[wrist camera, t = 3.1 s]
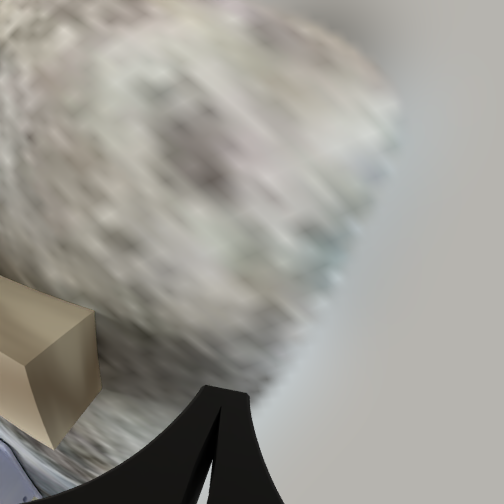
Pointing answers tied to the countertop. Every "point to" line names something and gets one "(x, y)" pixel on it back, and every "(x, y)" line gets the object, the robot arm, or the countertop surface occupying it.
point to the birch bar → (45, 362)
